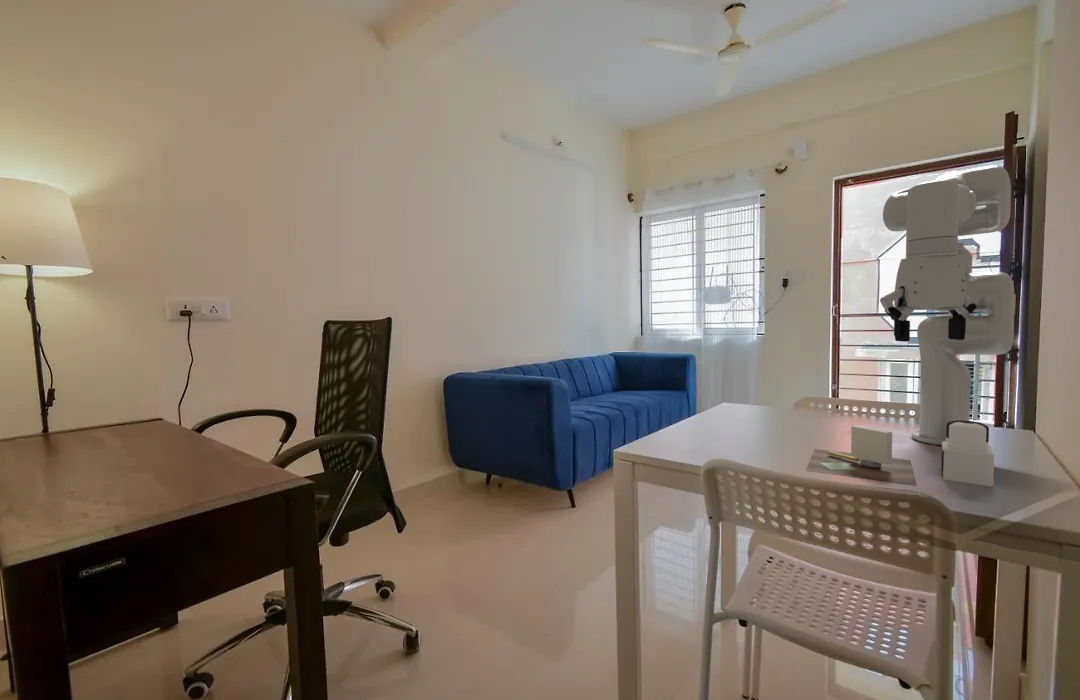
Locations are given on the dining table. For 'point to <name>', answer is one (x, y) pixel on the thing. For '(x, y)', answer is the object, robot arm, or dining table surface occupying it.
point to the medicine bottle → (967, 453)
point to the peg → (869, 446)
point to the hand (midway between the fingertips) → (929, 340)
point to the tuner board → (862, 468)
